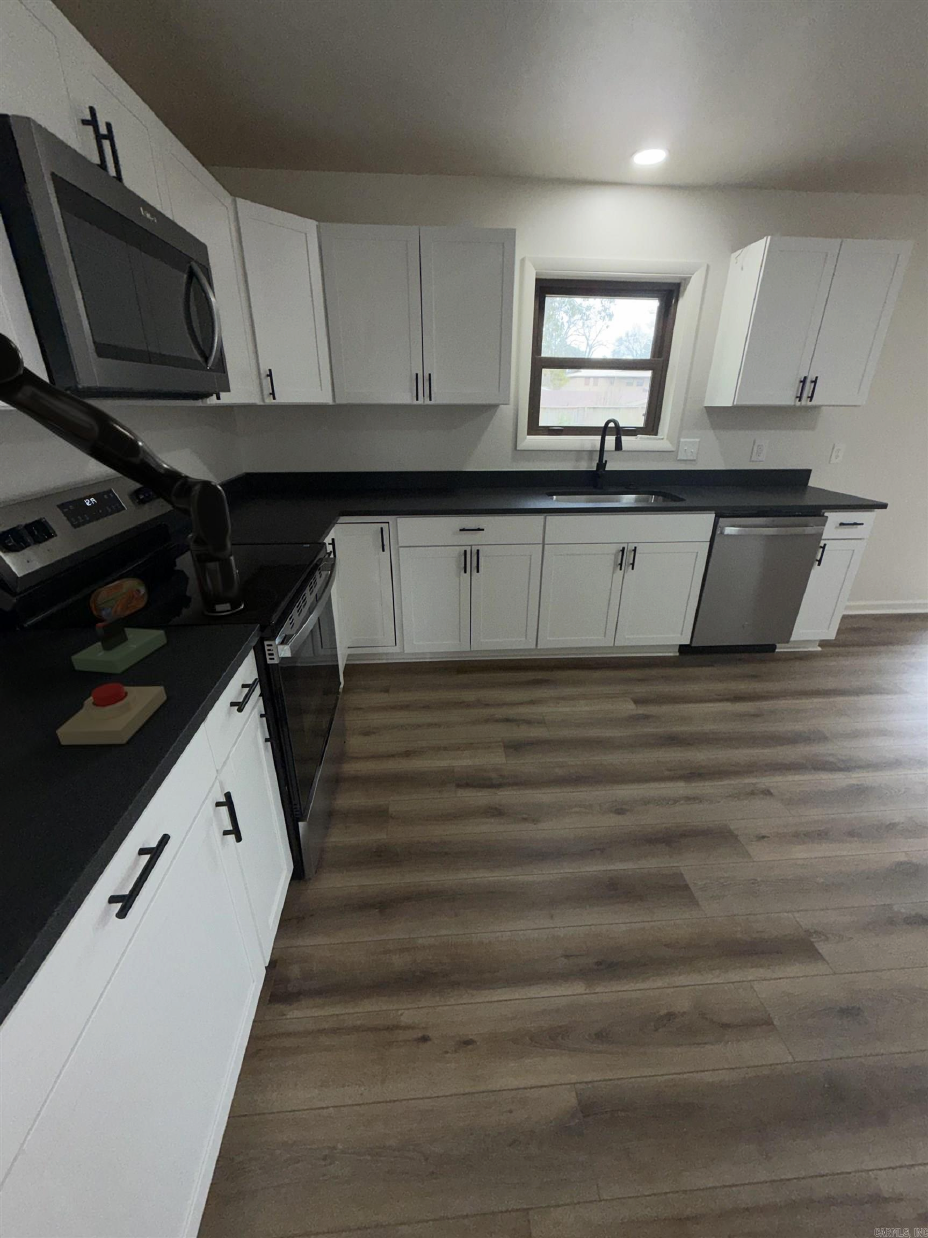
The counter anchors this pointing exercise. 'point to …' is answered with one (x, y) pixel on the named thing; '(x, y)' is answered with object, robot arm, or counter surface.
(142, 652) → the panel
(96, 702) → the power button
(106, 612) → the tin
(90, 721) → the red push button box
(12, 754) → the counter surface
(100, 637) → the black upright block
